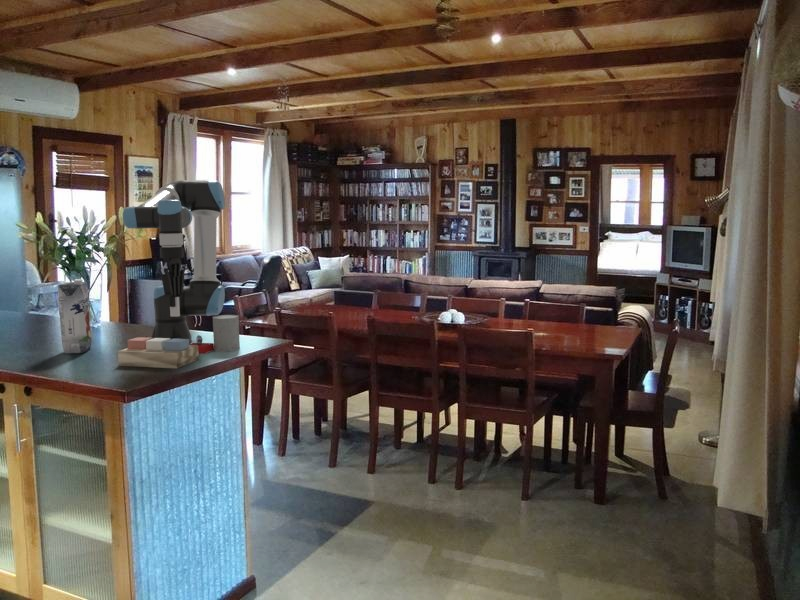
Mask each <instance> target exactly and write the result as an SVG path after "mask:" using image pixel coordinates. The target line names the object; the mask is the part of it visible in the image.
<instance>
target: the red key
mask: <svg viewBox="0 0 800 600" xmlns="http://www.w3.org/2000/svg"><path fill="white" fill-rule="evenodd" d="M150 339H152V337H141V336H139V337H133V338H130V339H127V340H126V341H127V342H126V343H127V348H128V349H146V341H147V340H150Z"/></svg>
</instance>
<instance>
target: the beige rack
mask: <svg viewBox="0 0 800 600" xmlns="http://www.w3.org/2000/svg"><path fill="white" fill-rule="evenodd" d="M199 355H200V353H198V345H189V348H187V349H184V350H182V351H168V350H165V349H164V350H146V349H128V347H127V348H124V349H120V350H118V351H117V356H118V366H119V367H140V368H142V367H143V368H160V369H161V368H162V369H179V368H182V367H185V366H186V365H189V364H192V363H194V362H196V361H198V360H199V359H200V358H199Z"/></svg>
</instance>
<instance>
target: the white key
mask: <svg viewBox="0 0 800 600" xmlns="http://www.w3.org/2000/svg"><path fill="white" fill-rule="evenodd" d="M168 340H171V339H170V338H154V339H150V340H147V341H146V350H164V349H165V341H168Z"/></svg>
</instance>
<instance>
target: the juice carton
mask: <svg viewBox="0 0 800 600" xmlns="http://www.w3.org/2000/svg"><path fill="white" fill-rule="evenodd" d="M57 289H58V290H57V292H58V293H57V297H58V298H57V299H58V310H59V323H60V324H59V325H60V337H61V345H62V346H61V347H62V349H63V350H62V351H63V353H64V354H84V353H86V352H87V351H88V350H90V349H91V348H92V327H91V312H90V311H91V310H90V299H89V298H90V296H89V287H88V282H87V281H83V279H77V278H76V279H74V280H73V281H71V282H66V281H65V282H64V283H62V284H58V286H57Z"/></svg>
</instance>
